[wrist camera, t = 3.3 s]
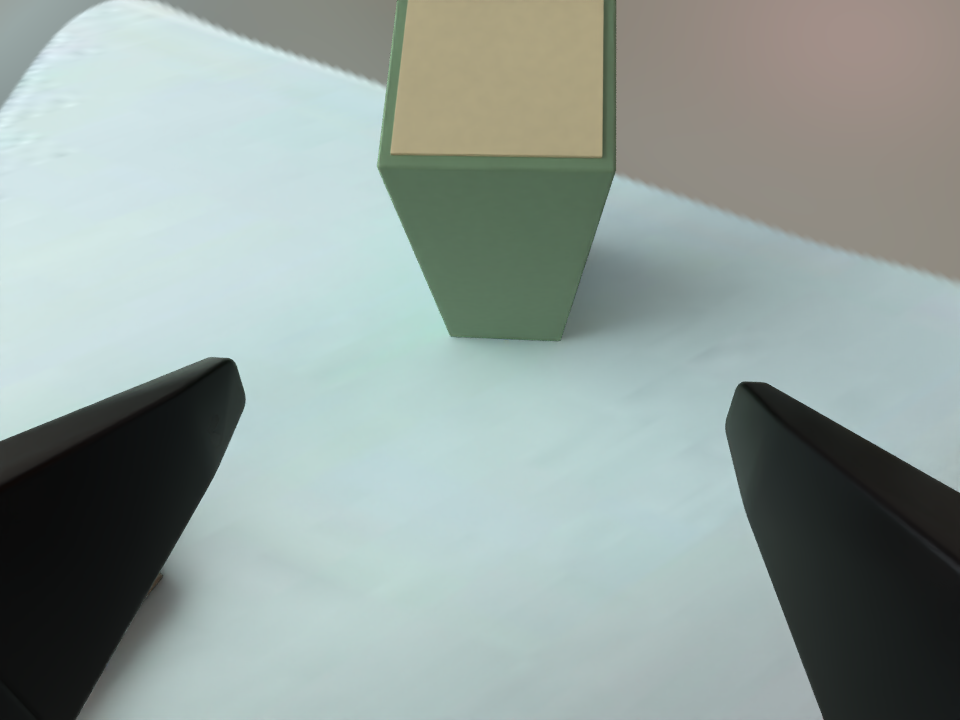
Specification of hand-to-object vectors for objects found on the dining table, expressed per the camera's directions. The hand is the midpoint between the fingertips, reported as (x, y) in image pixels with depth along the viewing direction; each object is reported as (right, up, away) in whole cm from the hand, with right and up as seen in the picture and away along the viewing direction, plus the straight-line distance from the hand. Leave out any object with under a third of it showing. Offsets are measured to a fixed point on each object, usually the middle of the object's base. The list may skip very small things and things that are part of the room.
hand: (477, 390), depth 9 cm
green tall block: (+1, +4, +15) cm, 15 cm away
